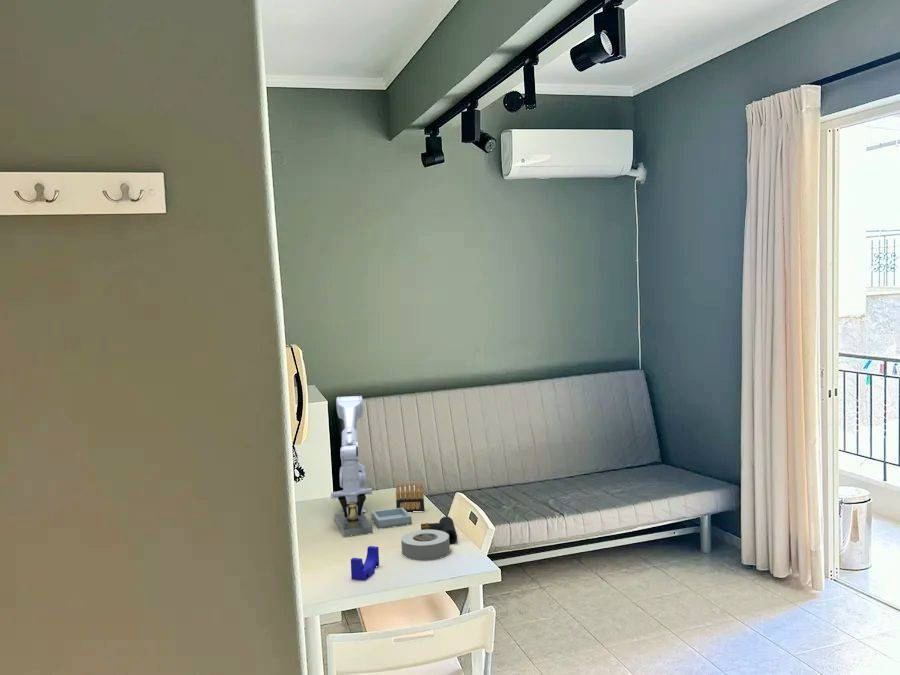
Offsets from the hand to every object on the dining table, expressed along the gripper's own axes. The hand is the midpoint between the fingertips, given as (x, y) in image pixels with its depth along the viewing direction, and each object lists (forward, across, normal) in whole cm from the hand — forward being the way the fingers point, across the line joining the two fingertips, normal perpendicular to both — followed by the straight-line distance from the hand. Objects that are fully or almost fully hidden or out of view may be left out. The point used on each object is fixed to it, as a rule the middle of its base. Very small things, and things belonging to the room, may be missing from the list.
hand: (352, 516), depth 271 cm
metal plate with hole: (+4, 0, 0) cm, 4 cm away
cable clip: (+4, -4, -45) cm, 46 cm away
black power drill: (+4, +25, -23) cm, 34 cm away
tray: (+4, +14, 0) cm, 15 cm away
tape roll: (+4, +17, -35) cm, 39 cm away
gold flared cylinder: (+4, 0, 0) cm, 4 cm away
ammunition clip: (+4, +24, +9) cm, 26 cm away
